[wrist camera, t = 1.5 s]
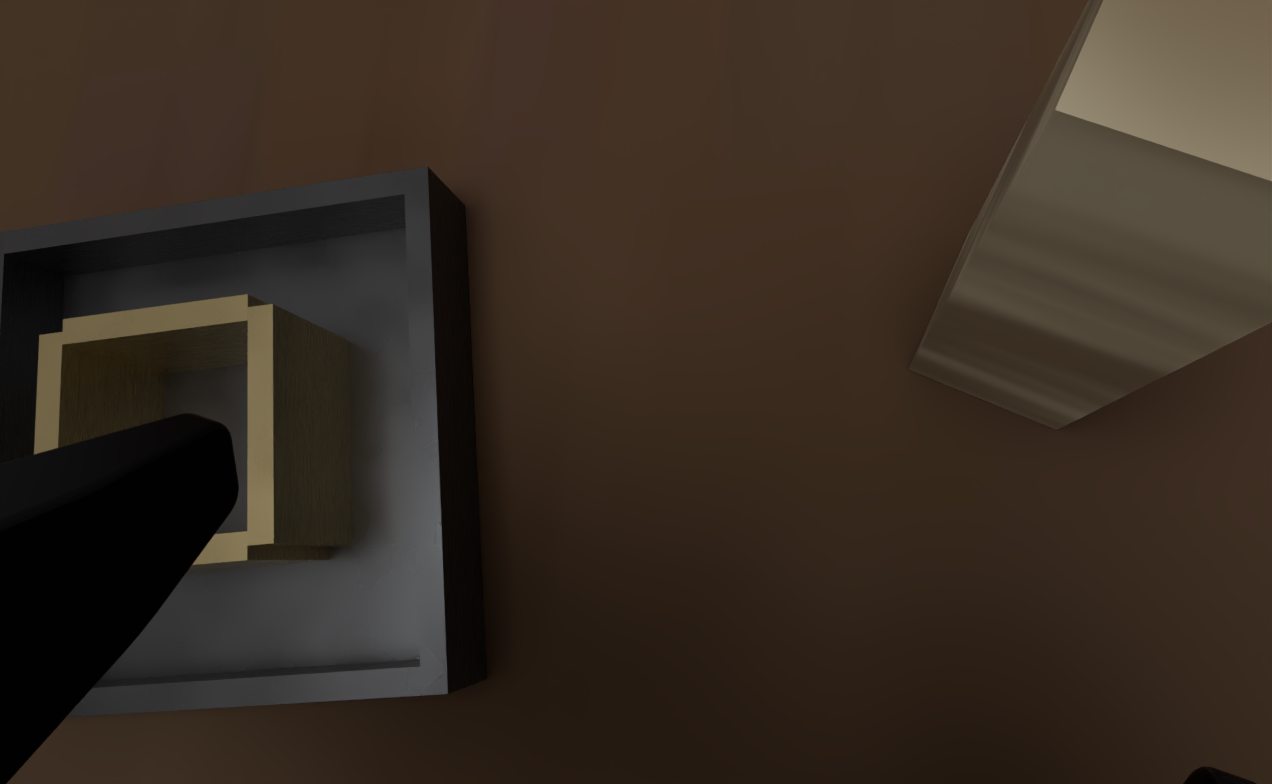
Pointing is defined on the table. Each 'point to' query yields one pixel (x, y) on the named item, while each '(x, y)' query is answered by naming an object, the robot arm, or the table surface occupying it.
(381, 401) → the gray square tray
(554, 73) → the table surface
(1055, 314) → the tan square peg
